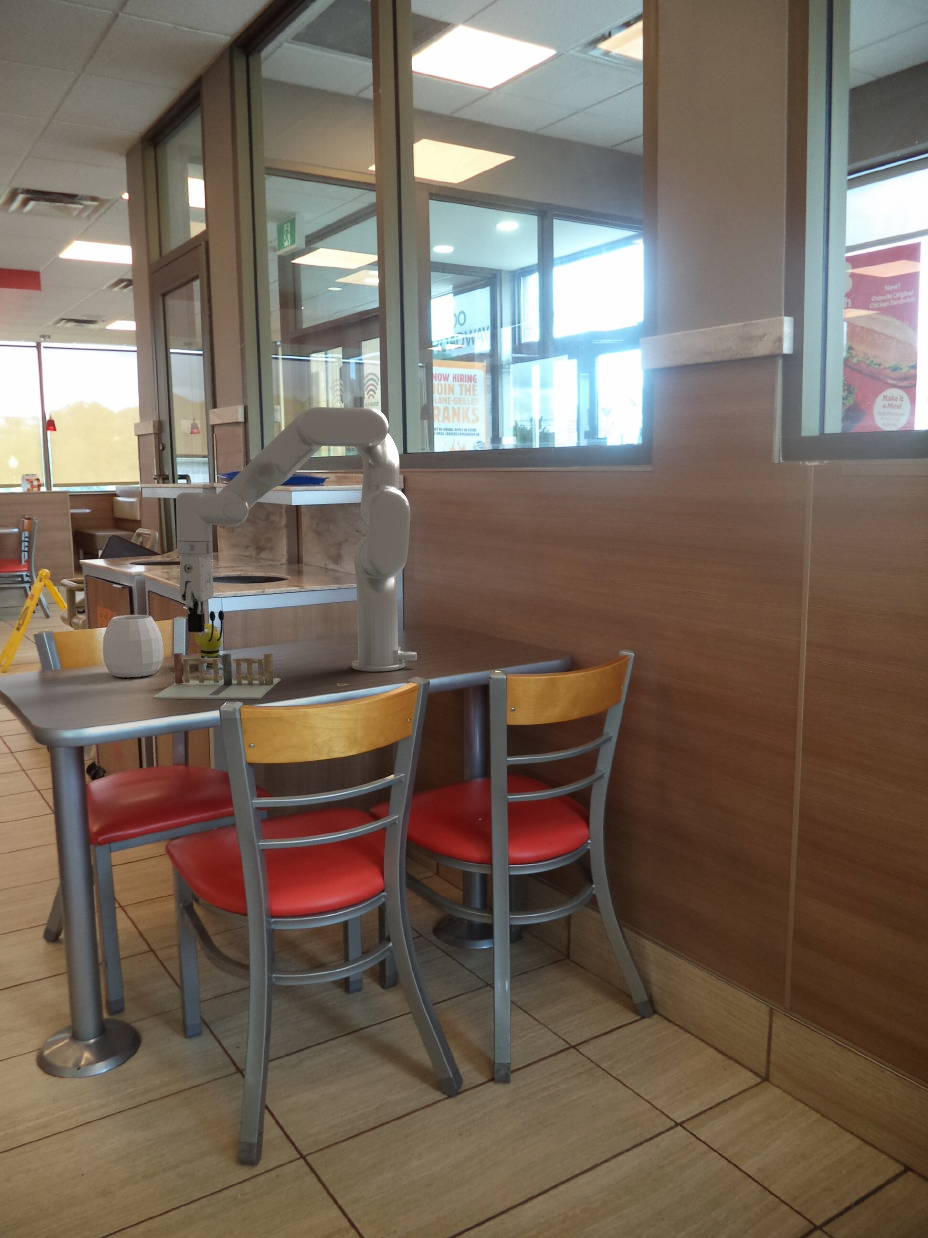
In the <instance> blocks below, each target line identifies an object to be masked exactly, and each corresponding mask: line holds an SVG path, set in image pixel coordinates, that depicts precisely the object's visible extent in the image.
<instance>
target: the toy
mask: <svg viewBox="0 0 928 1238" xmlns="http://www.w3.org/2000/svg"><path fill="white" fill-rule="evenodd" d="M217 616H218V619H219V621H220V628H219V627H218V626H216V625H214V624H215V620H216V613H215V612H214V611H213V610H211V611H210V612H209V615H208V617H209V620H210V622H211V623H204V631H203V632H193V636H194V640H195V643H196V644H197V646H199V647H200V651H199V654H200V658H222V663H219V664H220V665H221V666H222V667H223V655H222V654H221V652H220V648H221V645H222V643H223V638H222V635H223V630H224V629H223V627H224V619H225V614H224V611H223V610H219V611H218V612H217ZM207 666H208V667H213V663H204V672H206V670H207Z"/></svg>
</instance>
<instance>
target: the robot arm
mask: <svg viewBox="0 0 928 1238" xmlns="http://www.w3.org/2000/svg"><path fill="white" fill-rule="evenodd" d="M389 428H390V427H389V422H388V419H387V417H386V416H385V415H384V413H383V412H381V411H380V410H379V409H376V408H374V407H334V406H333V407H331V406H330V407H329V406H327V407H326V406H324V407H323V406H315V407H311V408H308V409H306V410H304V411H302V412H301V413H299V414H298V415H297V416H296V417H295V418H294V419H293V420H292V421H291V422H289V424H288V425H286V427H284V429H283V430H281V431H280V433H278V435H276V437H274V438H273V439H272V440H271V441H270V442H269V443H268V444H267V445H265V447H264V448H262V450H260V452H258V454H257V455H255V457H254V458H252V460H251V461H250V462H249V463H248V464H247V465H245V467H244V468H243V469H242V470H241V471H239V472H238V474H236V475H235V476H234V478H232V479H231V480H230V481H229V482H228V483H227V484H226V485H225V486H224V487H223V488H222V489H221V490H220V491H219V492H217V493H211V494H210V493H207V492H206V493H205V492H180V493H179V494H177V496H176V501H175V505H176V507H175V509H176V511H175V513H176V550H177V551H176V556H177V557H180V559H179V560H180V561H179V562H180V563H179V597H180V600H181V601H183V602H185V608H186V611H187V631H188V633H194V632H203V631H204V624H205V605H206V604H205V603H206V601H208V600H210V599H212V598H213V597H214V594H215V593H214V592H215V591H214V575H213V565H212V557H213V552H214V551H213V550H214V549H213V525H215V526H223V527H231V528H232V527H238V526H239V525H240V526H241V525H242V524H243V523H245V521H246V520H247V518H248V516H249V514H250V510H251V508H252V507H253V506H255V504H256V503H257V502H258V501H259V500H261V499H262V498H263V497H264V496H266V495H267V494H268V493H269V492H270V491H271V490H273V489H275V488H277V487H279V486H280V485H282V484H284V483H286V481H288V480H289V479H290V478H291V477H292V476H293V475H294V474H296V472H297V471H298V470H299V469H300V468H301V467H302V466H303V465H304V464H305V463H307V461H309V459H310V458H311V457H313V456H314V455H315V453H316V452H318V450H320V449H321V448H322V447H354V448H355V449H356V450H357V452H358V453H359V455H360V458H361V461H362V462H361V463H362V485H361V486H362V487H361V499H360V507H359V508H360V515H361V518H362V520H363V521H364V522H365V524H367V526H368V531H367V535H365V536H364V537H362V538H361V539H360V540H359V541H358V542H357V544H356V545H355V548H354V554H353V564H354V565H353V566H354V573H355V583H356V584H355V585H356V616H357V617H356V620H357V622H356V623H357V625H356V626H357V660H353V661H352V662H351V669H353V670H356V671H360V672H390V671H397V670H400V669H401V670H402V669H403V668H405V666H406V662H405V661H417V658H418V655H417V654H418V653H417V652H416V651H404V650H401V646H400V645H399V641H398V640H399V637H398V632H399V631H398V628H399V626H398V625H399V624H398V585H397V577H396V576H397V575H398V574H400V573H401V572H402V571H403V570H404V568H405V566H406V564H407V559H408V554H409V542H410V530H411V529H410V528H411V526H410V525H411V507H410V502H409V500H408V498H407V497H406V495H405V494H404V493H403V492H402V491H400V456H399V451H398V448H397V446H396V444H395V442H394V440H393V438H392V436H391V435H390V434H389V430H390V429H389Z"/></svg>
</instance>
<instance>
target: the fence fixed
mask: <svg viewBox="0 0 928 1238" xmlns="http://www.w3.org/2000/svg"><path fill="white" fill-rule="evenodd" d="M221 655H223V666H222V671H223V672H222V673H223V674H222V678H223V680H224V685H232V678H233V681H237V685H241V684H242V681H248V685H252V684H253V681H259V685H263V684H264V681H265V685H273V678H274V664H273V663H274V662H273V661H274V657H273V653H264V654H263V657H233V658H232V654H231V653H223V654H221ZM233 664H235V668H236V669H235V672H236V674H234V675H233V672H232V671H233V670H232V667H233V666H232V665H233ZM242 664H246V669H247V670H246V673H247V675H246V674H245V675H243V674H242V673H243V672H242ZM253 664H257V668H258V675H256V674H255V675H253V673H254V672H253V671H254V670H253Z"/></svg>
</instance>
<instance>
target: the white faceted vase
mask: <svg viewBox="0 0 928 1238" xmlns="http://www.w3.org/2000/svg"><path fill="white" fill-rule="evenodd" d="M162 636H163V635H162V633H161V631H160V629H159V626H158V625H157V623H156V622H155V620H154V618H153V617H152V616H151V615H147V614H127V615H118V616H114V617H111V619H110V620H109V622H108V625H107V626H106V628H105V631H104V634H103V639H102V657H103V658H102V659H103V662H104V664H105V667H106V669H107V670H108V672H109V673H111V675H113V676H115V677H118V678H125V677H136V678H142V677H141V676H143V677H147V676H150V675H154V674H155V673H157V672H158V671H159V670H160V668H161V666H162V664H163V661H164V658H165V657H164V644H163V638H162Z"/></svg>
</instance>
